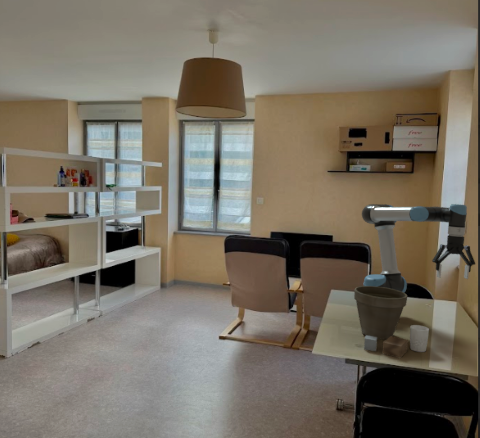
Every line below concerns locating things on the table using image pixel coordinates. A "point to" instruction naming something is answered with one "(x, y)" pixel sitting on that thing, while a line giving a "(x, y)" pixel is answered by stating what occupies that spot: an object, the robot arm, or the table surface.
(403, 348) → the walnut block
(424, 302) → the table surface
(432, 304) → the table surface
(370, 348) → the grey cube
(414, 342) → the white cup
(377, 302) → the plant pot
